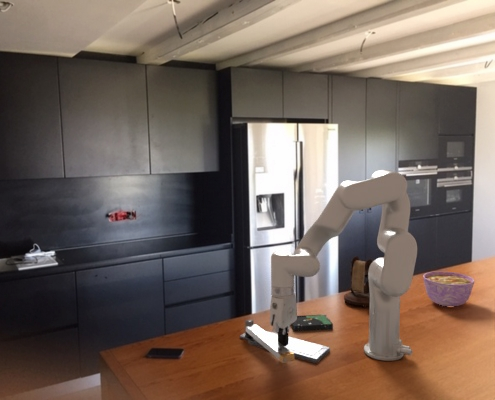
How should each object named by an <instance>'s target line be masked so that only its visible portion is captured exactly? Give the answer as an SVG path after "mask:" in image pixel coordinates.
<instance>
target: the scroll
mask: <svg viewBox="0 0 495 400" xmlns="http://www.w3.org/2000/svg"><path fill="white" fill-rule="evenodd" d="M372 262H373V260H372V258H368V259H366V261H364V260H363V261H362V260H360V257H359V256H357V255H355V256H353V258H352V259H351V260H350V271H349V275H350V276H351V278H350V282H349V283H350V292H347V293H345V294H344V295H343V300H344V303H346V304H347V303H349V304H351V305H356V306H363V309H366V307H367V306H370V289H369V279H368V272H369V267H370V265H371V263H372ZM365 278H367V279H368V280H367V281H366V282H365Z"/></svg>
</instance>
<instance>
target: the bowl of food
mask: <svg viewBox="0 0 495 400" xmlns="http://www.w3.org/2000/svg"><path fill="white" fill-rule="evenodd" d="M422 276H423V283H424V287H425V288H424V289H425V291H426V294H427V297H428V298H429V299H430V300H431V301H432V302H433V303H435V304H436V305H438V304H439V305H438V306H440V305H442V306H441V307H443V306H457V307H458V306H459V307H460V306H462V305H464V304H466V303H467V301H469V299H470V296H471V294H472V290H473V287H474V284H475V279H474V277H471V276H469V275H466V274H464V273H459V272H454V271H453V272H452V271H430V272H426V273H424V274H423V275H422Z"/></svg>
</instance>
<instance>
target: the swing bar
mask: <svg viewBox="0 0 495 400" xmlns="http://www.w3.org/2000/svg"><path fill="white" fill-rule="evenodd" d="M265 331H266V330H265ZM265 331H264V329H263V328H262V327H260V326H259V325H258V324H254V319H245V321H244V333H245V335H248V336H252V337H253V338H254V339H255V340H256V341H258V342H259V343H260V344H261V345H262V346H263V347H265V348H266V349H265V350H267V351H269V353H270V354H271V355H272V356H274V357H275V358H276V359H277V360H279V362H280V363H281V364H285V363H290V362H294V361H295V357H294V353H293V352H291V351H290V350H288V349H287V348H286V347H285V346H283V345H282V344H281V343H279V342H278V341H277V340H276V339H274V338H273V337H272V336H271V335H269V334H268V333H267V332H265Z"/></svg>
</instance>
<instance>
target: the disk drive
mask: <svg viewBox="0 0 495 400" xmlns="http://www.w3.org/2000/svg"><path fill="white" fill-rule="evenodd" d="M290 327H291V329H292V331H293V332H310V331H311V332H313V331H314V332H315V331H330V330H332V331H333V328H334V324H333V322H332V321H331V319H330V318H329V317H328V316H327V314H316V315H315V314H310V315H309V314H307V315H297V320H296V321H295V322H294V323H292V324H290Z"/></svg>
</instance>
